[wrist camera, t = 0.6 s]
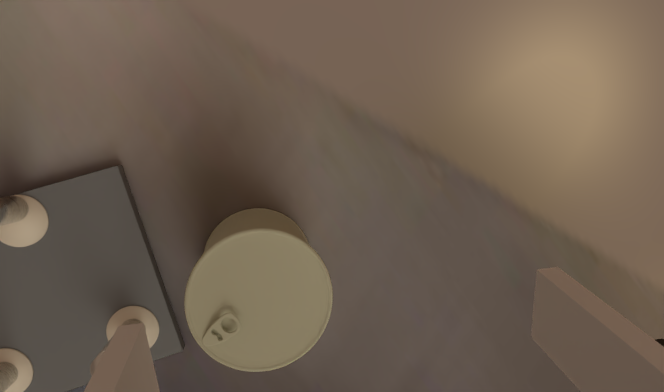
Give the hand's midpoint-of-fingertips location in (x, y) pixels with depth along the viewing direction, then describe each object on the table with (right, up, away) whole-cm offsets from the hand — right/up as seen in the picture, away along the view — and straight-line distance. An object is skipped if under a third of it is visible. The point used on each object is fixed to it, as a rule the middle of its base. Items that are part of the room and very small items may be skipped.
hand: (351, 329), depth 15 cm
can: (-7, -1, +24) cm, 25 cm away
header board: (-23, -3, +21) cm, 32 cm away
